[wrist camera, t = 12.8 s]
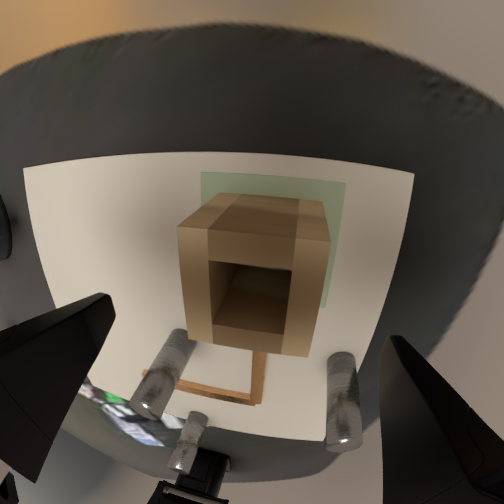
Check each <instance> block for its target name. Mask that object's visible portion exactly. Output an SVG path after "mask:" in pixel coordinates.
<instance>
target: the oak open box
mask: <svg viewBox="0 0 504 504" xmlns="http://www.w3.org/2000/svg"><path fill="white" fill-rule="evenodd" d="M176 228H177V242H178V254H179V265H180V275H181V285H182V294H183V302H184V310H185V318H186V325H187V333H188V339H191V340H196V341H201V342H206V343H211V344H216V345H221V346H227V347H233V348H239V349H245V350H251V351H258V352H265V353H272V354H280V355H288V356H296V357H306V358H308V355H309V351H310V347H311V343H312V339H313V334H314V330H315V325H316V321H317V316H318V312H319V307H320V302H321V297H322V292H323V287H324V282H325V276H326V271H327V265H328V259H329V253H330V247H331V238H330V233H329V229H328V224H327V219H326V214H325V210H324V205H323V201H314V200H305V199H295V198H285V197H274V196H263V195H250V194H236V193H221V192H220V193H218V194H217V195H216V196H214V197H213V198H212V199H210V200H209V201H208V202H207V203H205V204H204V205H203V206H201V207H200V208H199V209H198V210H196V211H195V212H194V213H193V214H191V215H190V216H189V217H188V218H186V219H185V220H184V221H183V222H181V223H180V224H179V225H178V226H176ZM240 264H245V265H253V266H262V267H270V268H279V269H287V270H292V271H284V270H275V269H266V268H258V267H250V266H241V265H240Z"/></svg>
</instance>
